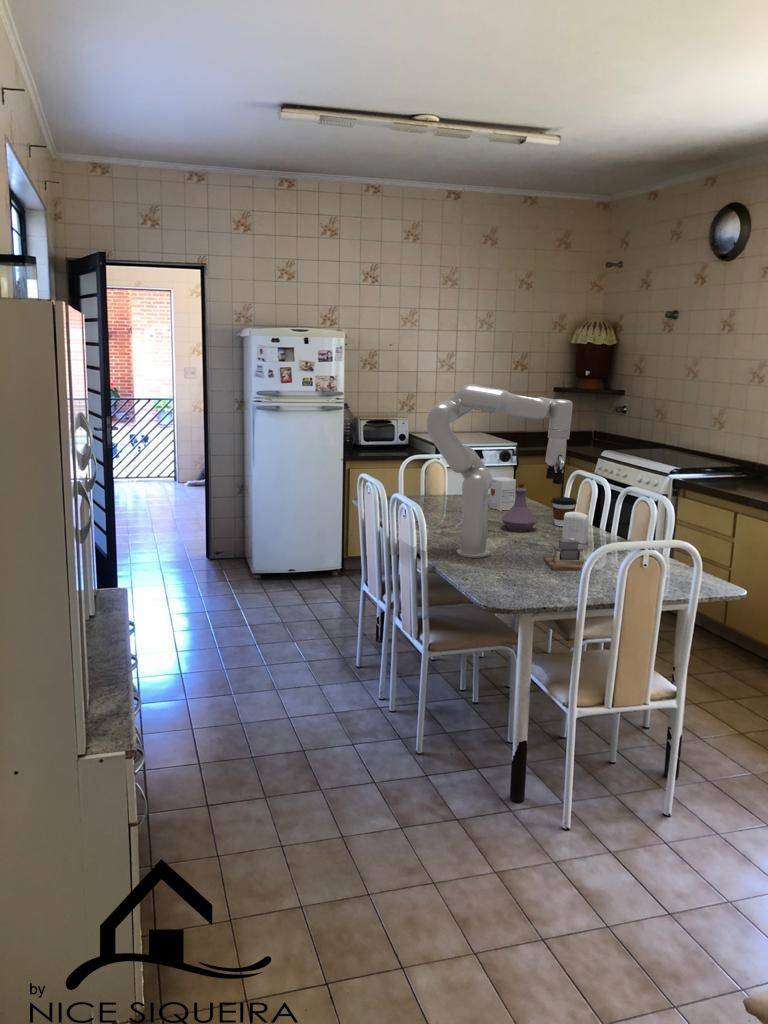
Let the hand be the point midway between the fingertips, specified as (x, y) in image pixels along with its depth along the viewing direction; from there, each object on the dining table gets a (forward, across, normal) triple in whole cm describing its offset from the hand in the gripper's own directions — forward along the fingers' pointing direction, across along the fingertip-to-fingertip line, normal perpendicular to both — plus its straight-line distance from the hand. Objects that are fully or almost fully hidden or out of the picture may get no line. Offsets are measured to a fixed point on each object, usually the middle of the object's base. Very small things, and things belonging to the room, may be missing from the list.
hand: (553, 481), depth 295 cm
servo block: (+28, +6, +6) cm, 30 cm away
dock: (+30, +6, +7) cm, 31 cm away
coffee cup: (+30, -58, +22) cm, 69 cm away
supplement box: (+31, -93, +1) cm, 98 cm away
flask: (+31, -51, +1) cm, 60 cm away
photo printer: (+30, -29, +19) cm, 46 cm away
